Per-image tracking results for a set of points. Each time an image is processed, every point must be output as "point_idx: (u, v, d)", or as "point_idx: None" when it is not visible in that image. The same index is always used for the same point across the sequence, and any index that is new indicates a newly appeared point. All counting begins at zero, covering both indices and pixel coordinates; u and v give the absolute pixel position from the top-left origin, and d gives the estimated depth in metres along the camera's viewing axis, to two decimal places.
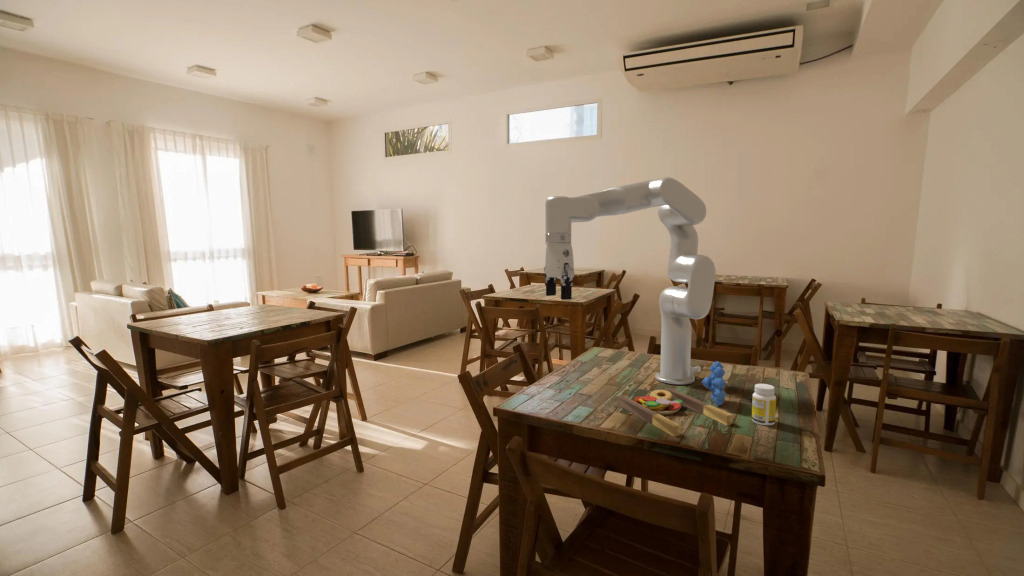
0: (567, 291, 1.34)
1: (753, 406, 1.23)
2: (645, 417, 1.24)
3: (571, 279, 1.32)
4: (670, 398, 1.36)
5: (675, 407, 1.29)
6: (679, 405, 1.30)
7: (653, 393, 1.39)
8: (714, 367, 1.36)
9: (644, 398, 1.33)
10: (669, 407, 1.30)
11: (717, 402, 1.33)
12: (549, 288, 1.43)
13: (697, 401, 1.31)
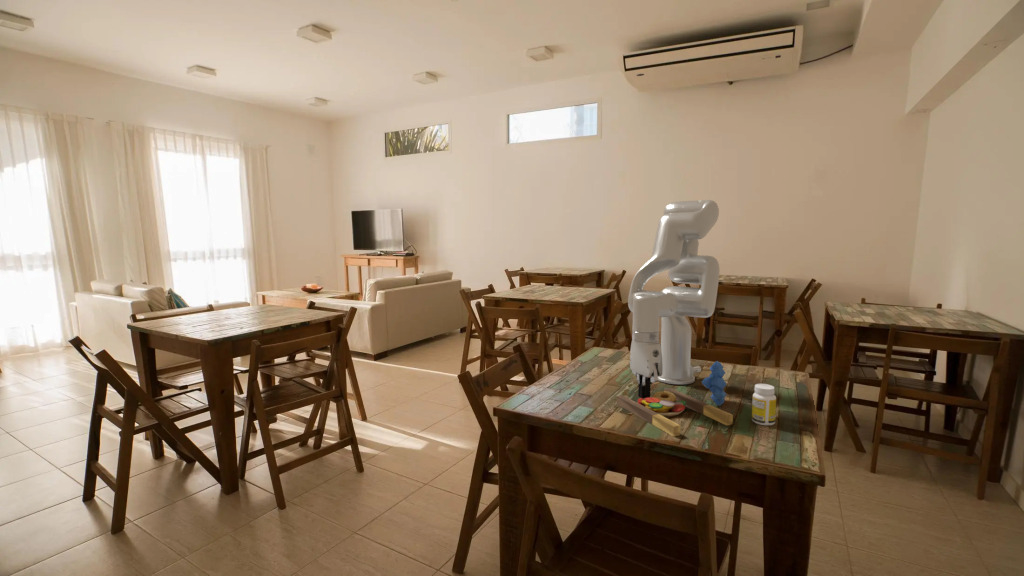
0: (647, 390, 1.38)
1: (753, 406, 1.23)
2: (645, 417, 1.24)
3: (651, 381, 1.37)
4: (673, 399, 1.34)
5: (679, 409, 1.28)
6: (683, 407, 1.28)
7: (656, 394, 1.38)
8: (714, 367, 1.36)
9: (647, 400, 1.32)
10: (673, 409, 1.29)
11: (717, 402, 1.33)
12: None
13: (697, 401, 1.31)
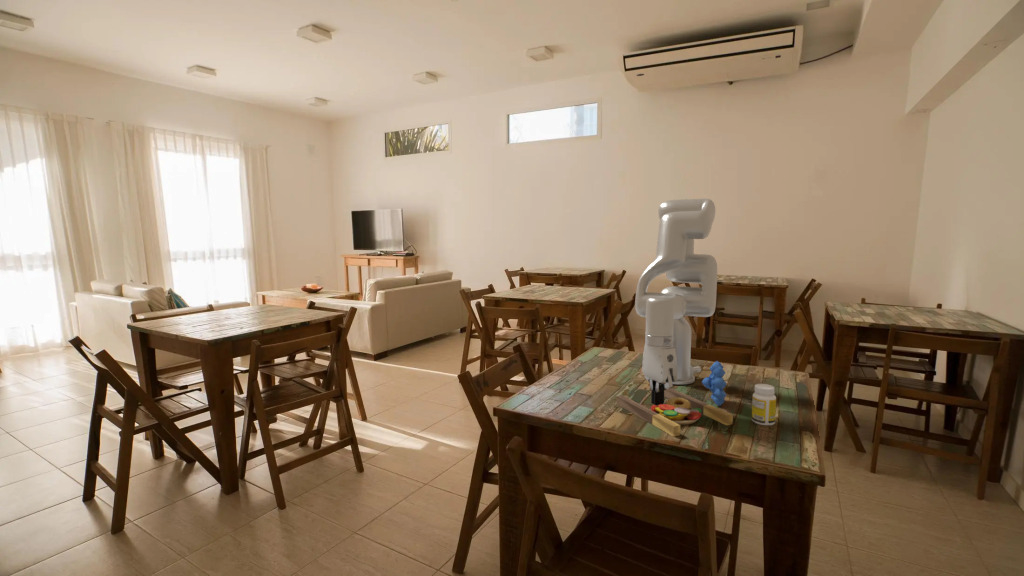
0: (660, 397, 1.33)
1: (753, 406, 1.23)
2: (645, 417, 1.24)
3: (665, 387, 1.31)
4: (688, 406, 1.29)
5: (695, 416, 1.22)
6: (699, 414, 1.23)
7: (670, 401, 1.32)
8: (714, 367, 1.36)
9: (661, 407, 1.27)
10: (688, 416, 1.23)
11: (717, 402, 1.33)
12: None
13: (697, 401, 1.31)
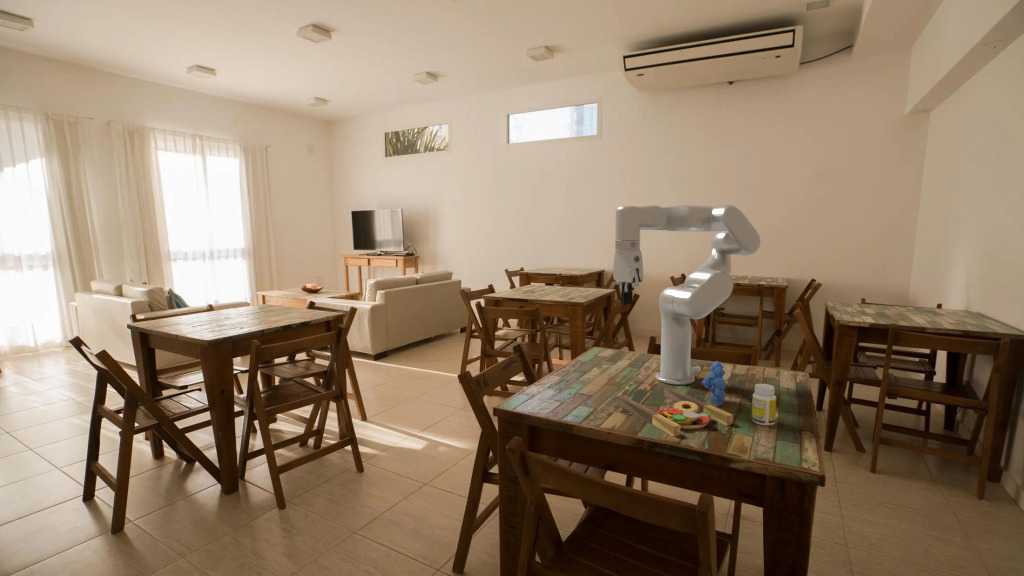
0: (629, 297, 1.48)
1: (753, 406, 1.23)
2: (645, 417, 1.24)
3: (633, 287, 1.46)
4: (697, 410, 1.26)
5: (704, 421, 1.19)
6: (708, 419, 1.20)
7: (678, 405, 1.29)
8: (714, 367, 1.36)
9: (669, 411, 1.24)
10: (697, 421, 1.20)
11: (717, 402, 1.33)
12: None
13: (697, 401, 1.31)
